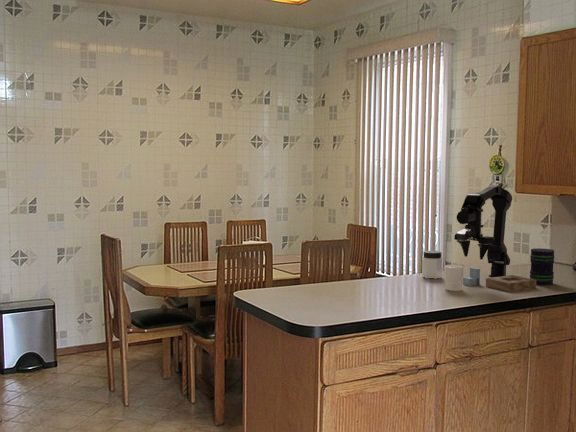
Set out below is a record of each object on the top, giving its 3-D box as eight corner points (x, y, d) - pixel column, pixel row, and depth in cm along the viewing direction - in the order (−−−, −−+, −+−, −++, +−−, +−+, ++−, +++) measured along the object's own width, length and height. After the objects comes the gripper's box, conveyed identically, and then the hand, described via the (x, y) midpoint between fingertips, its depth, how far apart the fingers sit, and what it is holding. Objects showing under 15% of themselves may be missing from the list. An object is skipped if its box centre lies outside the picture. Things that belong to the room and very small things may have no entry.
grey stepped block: (472, 283, 279) (473, 267, 278) (479, 284, 275) (480, 268, 274) (462, 284, 276) (463, 268, 275) (469, 285, 272) (469, 269, 272)
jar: (434, 279, 286) (434, 253, 285) (419, 277, 292) (419, 251, 291) (444, 277, 292) (445, 251, 291) (429, 275, 298) (430, 250, 297)
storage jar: (549, 281, 282) (550, 248, 281) (556, 285, 272) (557, 251, 271) (526, 281, 283) (527, 248, 282) (532, 285, 273) (534, 251, 272)
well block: (512, 283, 278) (512, 275, 278) (536, 288, 267) (536, 279, 266) (485, 286, 271) (485, 278, 270) (509, 292, 259) (509, 283, 259)
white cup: (441, 290, 262) (442, 266, 261) (446, 287, 269) (446, 264, 268) (460, 292, 259) (461, 268, 258) (464, 288, 266) (465, 265, 265)
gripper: (445, 221, 278) (444, 256, 279) (476, 225, 262) (475, 262, 263) (464, 220, 283) (463, 254, 285) (495, 224, 267) (494, 260, 268)
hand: (473, 257), depth 275 cm, fingers open, 9 cm apart
